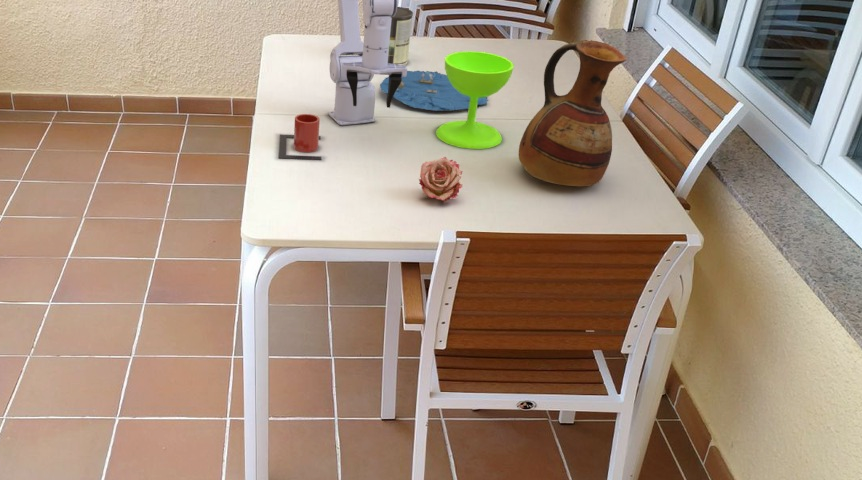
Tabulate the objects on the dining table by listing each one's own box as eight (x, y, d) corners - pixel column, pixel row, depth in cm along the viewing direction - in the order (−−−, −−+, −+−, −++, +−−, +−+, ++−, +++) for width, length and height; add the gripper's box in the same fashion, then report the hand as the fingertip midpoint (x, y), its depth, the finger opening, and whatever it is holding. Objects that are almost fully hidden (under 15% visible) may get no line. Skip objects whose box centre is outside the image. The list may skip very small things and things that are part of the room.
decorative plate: (457, 76, 274) (460, 58, 271) (505, 113, 251) (509, 93, 248) (360, 77, 265) (362, 58, 262) (400, 116, 242) (402, 95, 239)
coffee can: (374, 66, 273) (379, 15, 265) (370, 55, 282) (373, 5, 274) (410, 67, 274) (416, 16, 266) (404, 56, 283) (409, 6, 275)
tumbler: (312, 141, 226) (313, 113, 222) (321, 151, 222) (323, 121, 218) (290, 144, 224) (291, 115, 220) (299, 153, 220) (300, 124, 216)
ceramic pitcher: (586, 204, 206) (618, 65, 189) (500, 179, 214) (522, 43, 197) (616, 174, 220) (648, 42, 203) (534, 152, 228) (558, 23, 211)
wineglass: (459, 152, 225) (469, 76, 215) (423, 128, 237) (431, 54, 227) (515, 143, 232) (527, 69, 222) (477, 120, 243) (487, 48, 233)
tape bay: (320, 136, 229) (320, 136, 229) (321, 160, 218) (321, 159, 217) (279, 135, 228) (279, 134, 228) (278, 158, 217) (278, 157, 217)
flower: (415, 176, 209) (415, 157, 201) (457, 169, 209) (458, 150, 201) (423, 216, 205) (423, 198, 198) (465, 209, 205) (467, 190, 198)
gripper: (344, 49, 210) (340, 110, 218) (410, 52, 211) (404, 113, 218) (342, 39, 216) (339, 99, 223) (407, 43, 216) (401, 101, 224)
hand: (371, 105), depth 221 cm, fingers open, 7 cm apart
